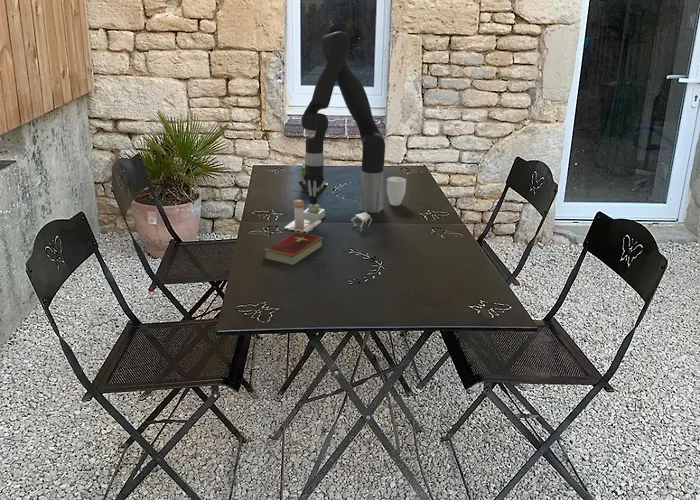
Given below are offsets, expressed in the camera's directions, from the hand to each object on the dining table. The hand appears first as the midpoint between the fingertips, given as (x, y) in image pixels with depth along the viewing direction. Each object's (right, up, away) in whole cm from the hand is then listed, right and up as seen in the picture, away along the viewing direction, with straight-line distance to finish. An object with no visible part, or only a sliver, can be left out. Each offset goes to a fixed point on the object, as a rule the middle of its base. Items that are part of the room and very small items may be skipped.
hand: (313, 204), depth 273 cm
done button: (0, -3, +1) cm, 3 cm away
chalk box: (-3, +9, +38) cm, 40 cm away
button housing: (0, -5, +2) cm, 6 cm away
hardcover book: (-5, -20, -34) cm, 40 cm away
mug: (+35, +2, +24) cm, 43 cm away
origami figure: (+20, -10, -7) cm, 23 cm away
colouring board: (-4, -9, -8) cm, 12 cm away
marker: (-5, -9, -11) cm, 15 cm away
